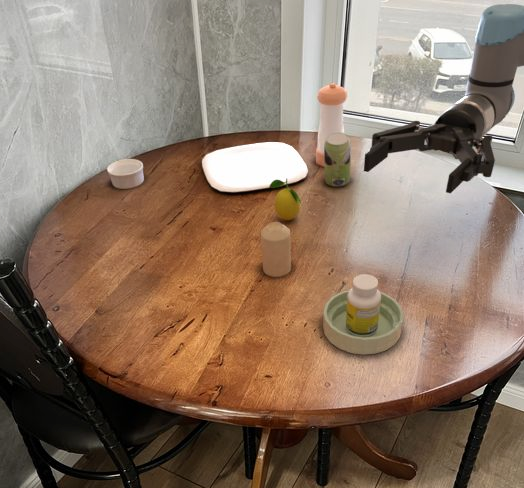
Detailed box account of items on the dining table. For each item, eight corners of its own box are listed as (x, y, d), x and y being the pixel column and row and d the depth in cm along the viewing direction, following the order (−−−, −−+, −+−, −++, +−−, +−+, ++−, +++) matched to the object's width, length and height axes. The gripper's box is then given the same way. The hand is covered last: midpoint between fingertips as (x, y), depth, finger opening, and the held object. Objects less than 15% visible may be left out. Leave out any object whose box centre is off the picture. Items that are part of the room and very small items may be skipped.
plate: (213, 202, 127) (213, 195, 126) (197, 158, 145) (197, 151, 144) (316, 185, 131) (316, 178, 130) (288, 144, 149) (288, 137, 148)
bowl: (412, 321, 94) (415, 303, 91) (381, 367, 86) (383, 349, 83) (344, 298, 99) (345, 280, 96) (309, 340, 91) (309, 322, 89)
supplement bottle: (345, 316, 94) (348, 270, 88) (376, 317, 94) (382, 271, 87) (345, 337, 90) (348, 291, 84) (378, 338, 90) (384, 292, 83)
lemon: (270, 215, 122) (268, 173, 115) (295, 211, 122) (295, 169, 116) (277, 230, 117) (275, 187, 110) (303, 226, 118) (303, 183, 111)
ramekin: (153, 178, 138) (149, 161, 135) (131, 193, 133) (128, 177, 130) (125, 172, 141) (121, 156, 138) (103, 187, 136) (99, 171, 133)
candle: (292, 277, 104) (291, 232, 98) (264, 279, 104) (261, 234, 97) (289, 261, 108) (288, 216, 102) (262, 263, 108) (259, 219, 101)
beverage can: (350, 177, 133) (353, 128, 124) (348, 192, 128) (351, 142, 119) (324, 177, 134) (326, 128, 125) (321, 191, 129) (323, 141, 120)
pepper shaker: (336, 154, 143) (339, 76, 129) (349, 165, 138) (353, 85, 124) (311, 159, 141) (312, 81, 128) (323, 170, 136) (325, 91, 123)
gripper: (531, 162, 89) (482, 218, 78) (394, 133, 101) (334, 177, 89) (545, 116, 84) (495, 168, 73) (399, 91, 96) (336, 132, 84)
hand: (406, 173), depth 81 cm, fingers open, 13 cm apart
